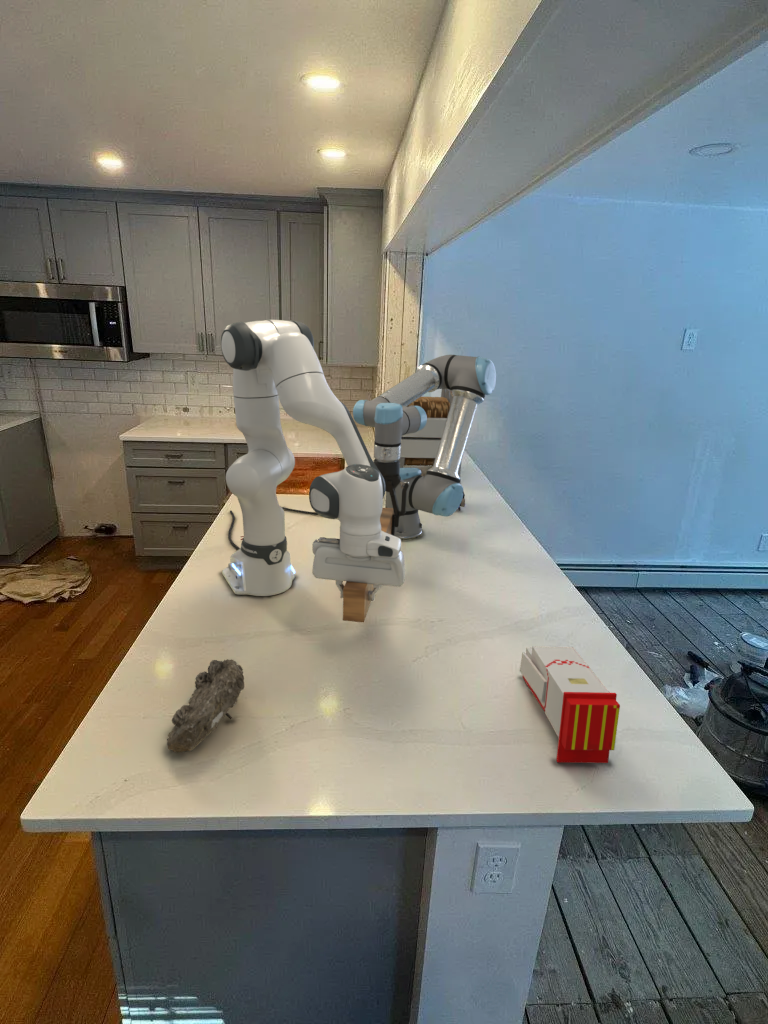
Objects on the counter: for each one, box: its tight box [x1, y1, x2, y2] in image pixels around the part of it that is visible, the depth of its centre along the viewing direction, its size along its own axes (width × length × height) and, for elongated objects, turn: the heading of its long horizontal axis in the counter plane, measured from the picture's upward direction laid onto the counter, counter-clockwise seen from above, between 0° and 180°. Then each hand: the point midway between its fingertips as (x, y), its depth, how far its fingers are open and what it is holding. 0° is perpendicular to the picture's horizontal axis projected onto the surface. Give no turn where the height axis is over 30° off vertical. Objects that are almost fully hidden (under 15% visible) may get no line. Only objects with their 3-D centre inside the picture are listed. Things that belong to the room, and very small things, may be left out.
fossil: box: [166, 658, 245, 754], centre depth 106 cm, size 22×10×15 cm
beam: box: [342, 507, 394, 624], centre depth 146 cm, size 53×5×8 cm, turn 172°
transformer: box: [399, 389, 463, 478], centre depth 268 cm, size 34×33×41 cm
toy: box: [519, 645, 621, 764], centre depth 112 cm, size 12×13×30 cm
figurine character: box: [457, 490, 466, 511], centre depth 229 cm, size 7×8×15 cm
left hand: (357, 598), depth 126 cm, fingers closed on beam, 5 cm apart
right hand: (383, 535), depth 167 cm, fingers closed on beam, 5 cm apart
